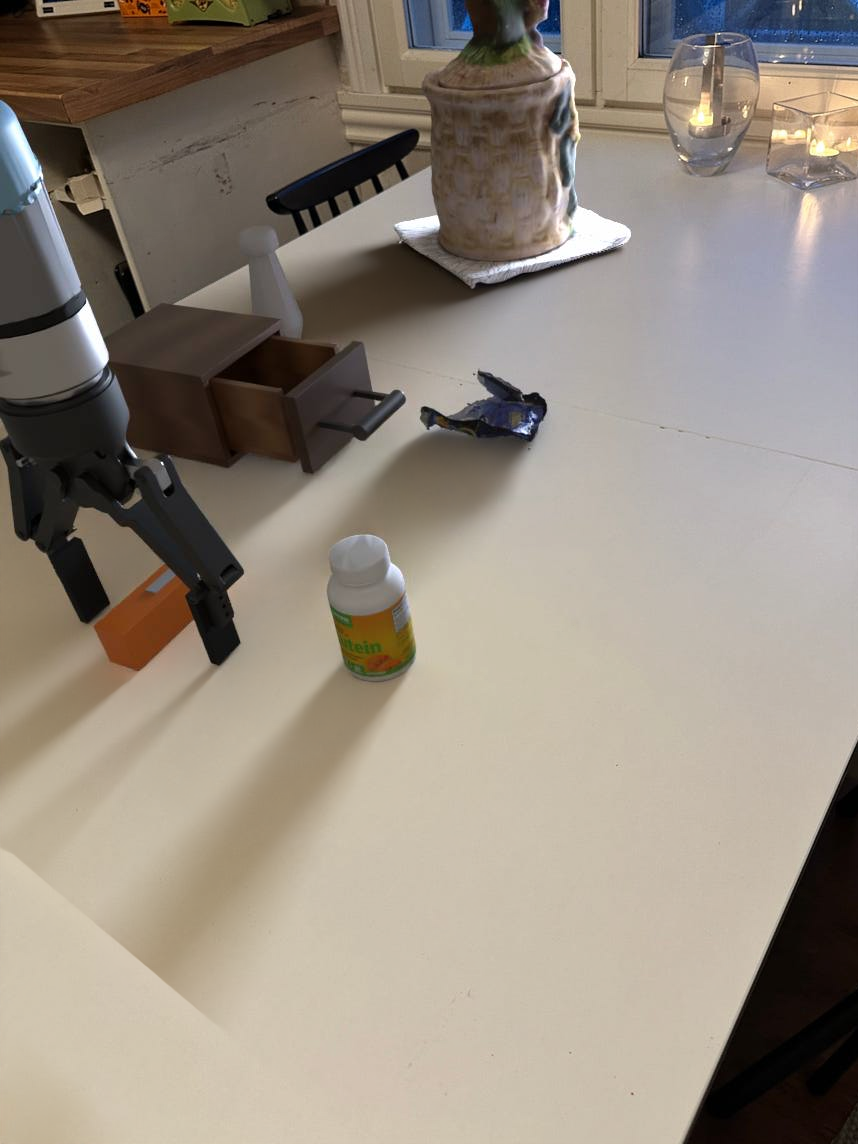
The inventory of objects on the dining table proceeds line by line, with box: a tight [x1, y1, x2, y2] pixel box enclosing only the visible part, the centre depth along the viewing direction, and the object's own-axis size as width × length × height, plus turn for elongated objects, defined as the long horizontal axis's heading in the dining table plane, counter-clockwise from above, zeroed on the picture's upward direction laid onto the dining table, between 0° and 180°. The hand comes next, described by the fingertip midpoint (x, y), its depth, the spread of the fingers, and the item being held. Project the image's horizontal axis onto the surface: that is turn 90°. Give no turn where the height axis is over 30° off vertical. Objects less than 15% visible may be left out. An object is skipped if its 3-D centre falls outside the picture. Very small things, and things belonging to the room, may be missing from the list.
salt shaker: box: [237, 225, 304, 339], centre depth 109 cm, size 6×6×13 cm
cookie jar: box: [393, 0, 631, 289], centre depth 120 cm, size 25×25×32 cm
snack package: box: [419, 369, 548, 451], centre depth 92 cm, size 12×6×12 cm
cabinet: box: [102, 302, 286, 469], centre depth 96 cm, size 16×13×10 cm
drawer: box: [208, 335, 407, 475], centre depth 91 cm, size 20×11×8 cm, turn 63°
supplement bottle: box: [326, 534, 418, 682], centre depth 67 cm, size 5×5×10 cm
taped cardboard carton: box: [92, 563, 194, 672], centre depth 73 cm, size 3×8×4 cm, turn 153°
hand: (158, 632), depth 75 cm, fingers open, 13 cm apart
